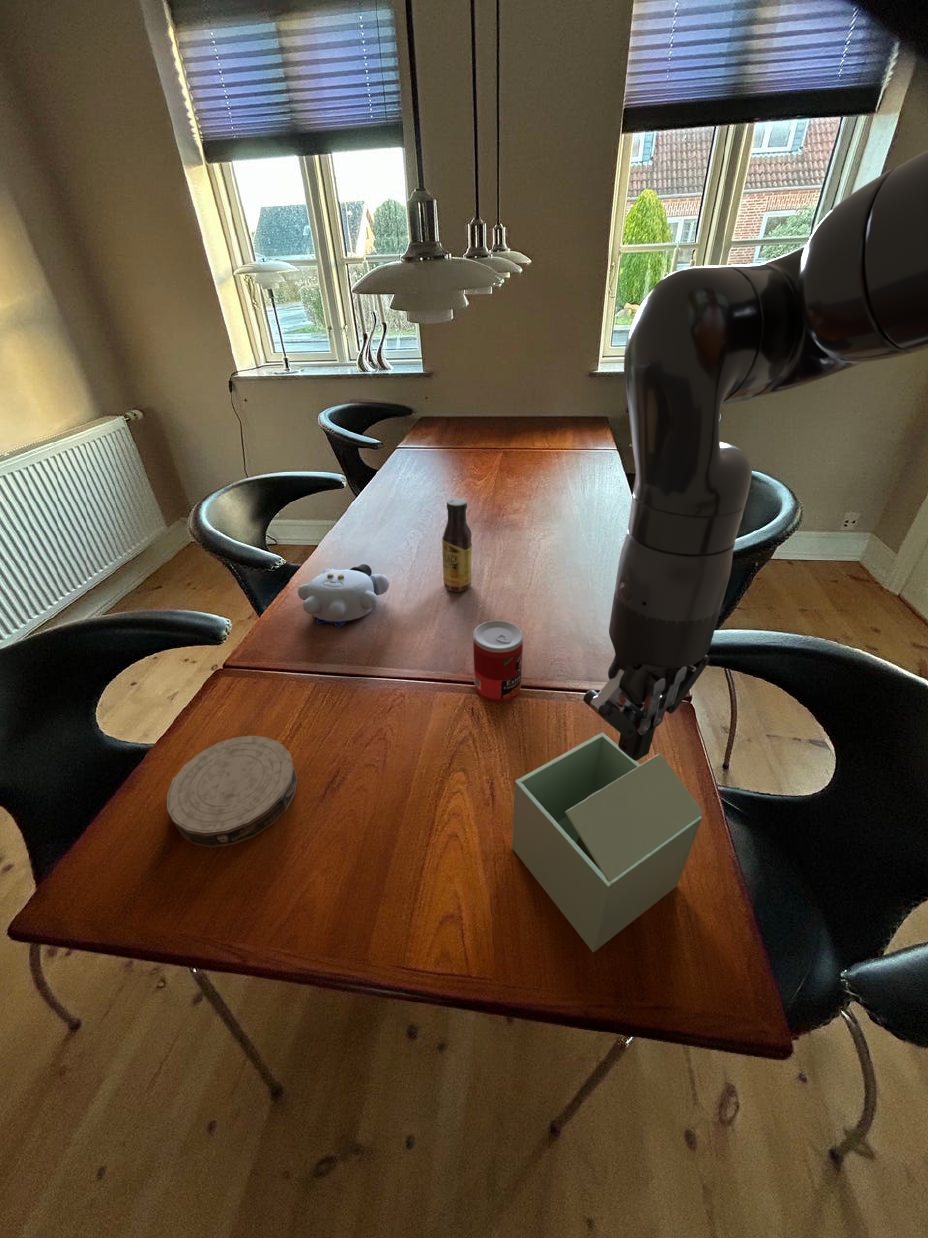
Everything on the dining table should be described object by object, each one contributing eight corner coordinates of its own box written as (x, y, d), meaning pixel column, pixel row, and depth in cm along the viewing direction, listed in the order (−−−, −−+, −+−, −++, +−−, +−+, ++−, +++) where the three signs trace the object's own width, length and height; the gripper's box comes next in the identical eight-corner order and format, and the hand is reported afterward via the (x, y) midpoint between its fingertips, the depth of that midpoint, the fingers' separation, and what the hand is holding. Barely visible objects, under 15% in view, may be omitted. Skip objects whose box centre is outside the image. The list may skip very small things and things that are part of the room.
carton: (677, 885, 60) (702, 817, 53) (593, 953, 54) (608, 887, 47) (591, 798, 70) (602, 732, 63) (512, 848, 64) (514, 781, 57)
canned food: (509, 709, 84) (511, 654, 78) (465, 693, 88) (463, 640, 81) (528, 680, 90) (531, 627, 84) (486, 667, 93) (485, 615, 87)
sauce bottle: (438, 585, 117) (432, 500, 106) (460, 576, 120) (457, 492, 109) (456, 597, 113) (452, 509, 102) (478, 587, 116) (477, 501, 105)
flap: (702, 814, 53) (704, 813, 53) (608, 882, 47) (609, 882, 47) (658, 753, 56) (660, 752, 55) (564, 812, 50) (566, 811, 50)
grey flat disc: (183, 764, 77) (176, 749, 75) (296, 739, 80) (291, 725, 79) (163, 862, 64) (155, 848, 62) (298, 828, 68) (293, 813, 66)
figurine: (363, 637, 101) (403, 594, 118) (359, 597, 97) (400, 558, 114) (284, 625, 105) (332, 585, 122) (276, 586, 101) (328, 550, 118)
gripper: (644, 645, 34) (611, 815, 43) (769, 584, 39) (715, 747, 49) (565, 594, 39) (551, 756, 49) (685, 547, 45) (651, 701, 54)
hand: (633, 751), depth 49 cm, fingers closed
